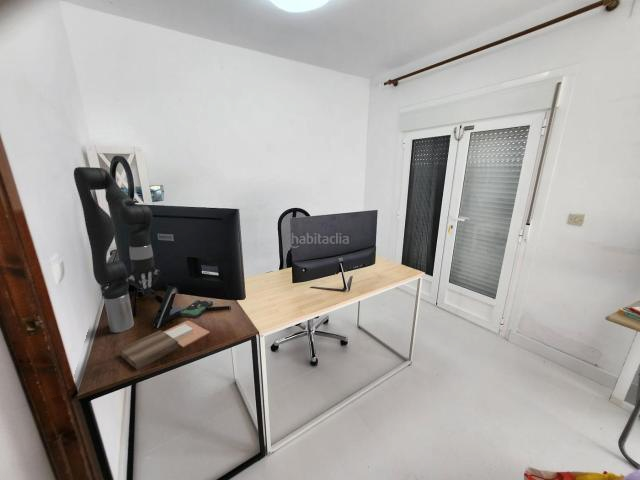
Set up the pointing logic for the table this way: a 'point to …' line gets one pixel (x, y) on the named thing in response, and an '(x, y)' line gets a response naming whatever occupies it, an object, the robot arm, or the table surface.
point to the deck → (148, 349)
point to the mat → (197, 334)
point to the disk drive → (196, 309)
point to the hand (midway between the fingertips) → (147, 295)
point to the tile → (180, 332)
